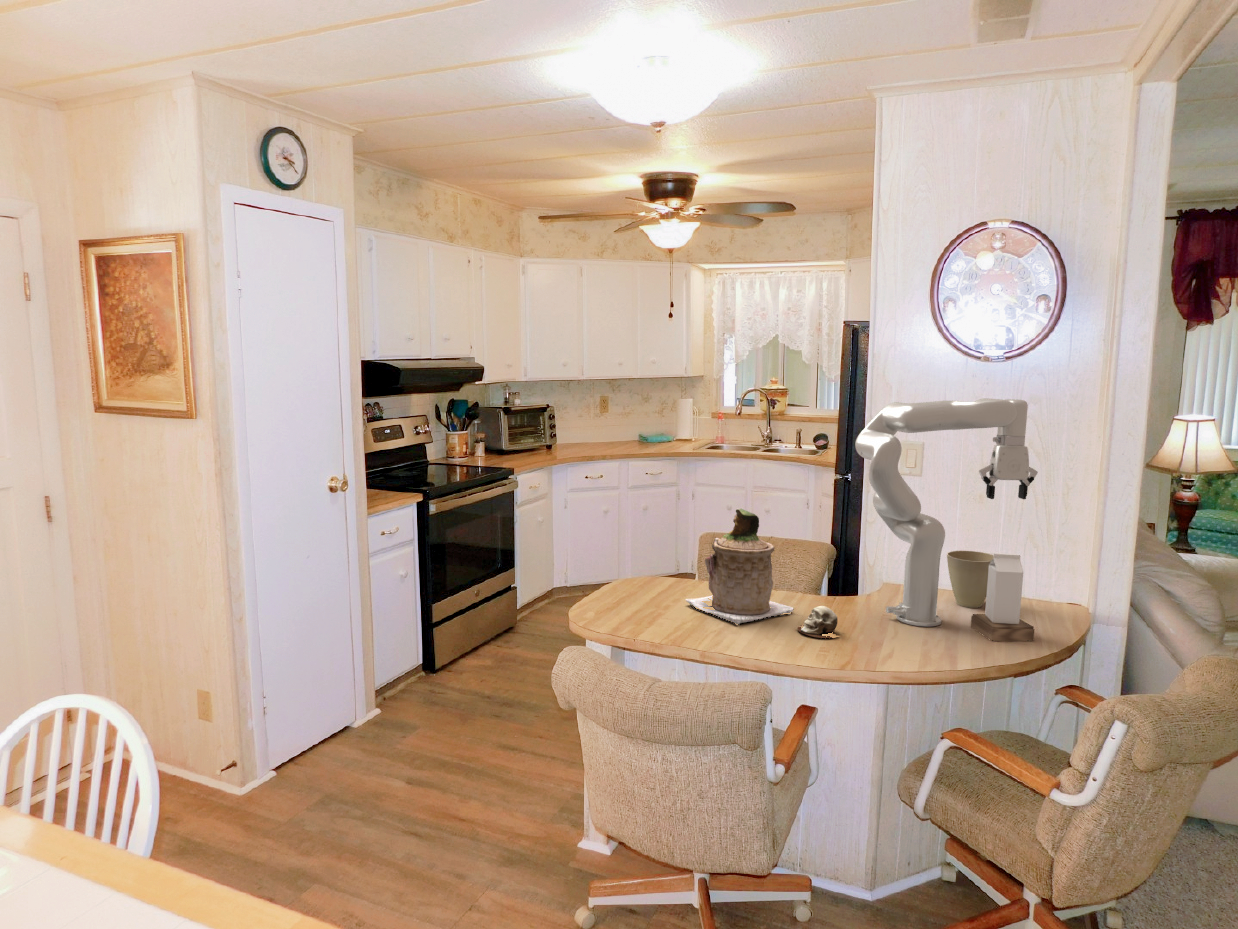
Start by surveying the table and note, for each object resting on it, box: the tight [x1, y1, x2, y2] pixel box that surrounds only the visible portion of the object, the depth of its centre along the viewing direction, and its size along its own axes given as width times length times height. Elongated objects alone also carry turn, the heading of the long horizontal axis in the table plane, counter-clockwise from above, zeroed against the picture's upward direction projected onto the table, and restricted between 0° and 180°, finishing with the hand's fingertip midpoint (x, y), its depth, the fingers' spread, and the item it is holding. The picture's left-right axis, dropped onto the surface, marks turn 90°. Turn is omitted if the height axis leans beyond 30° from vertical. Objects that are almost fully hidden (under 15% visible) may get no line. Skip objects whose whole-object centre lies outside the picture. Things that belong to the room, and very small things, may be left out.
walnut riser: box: [970, 613, 1035, 642], centre depth 234 cm, size 12×12×4 cm
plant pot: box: [946, 550, 994, 609], centre depth 261 cm, size 15×15×16 cm
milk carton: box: [984, 553, 1024, 624], centre depth 233 cm, size 7×7×19 cm
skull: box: [797, 605, 838, 639], centre depth 233 cm, size 12×10×10 cm
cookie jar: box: [685, 508, 795, 625], centre depth 251 cm, size 25×25×32 cm
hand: (1006, 498), depth 246 cm, fingers open, 9 cm apart
